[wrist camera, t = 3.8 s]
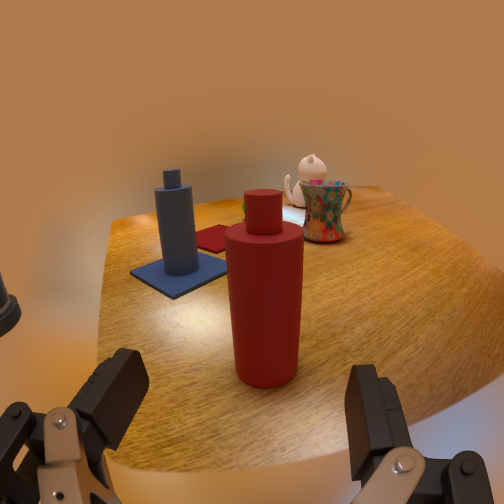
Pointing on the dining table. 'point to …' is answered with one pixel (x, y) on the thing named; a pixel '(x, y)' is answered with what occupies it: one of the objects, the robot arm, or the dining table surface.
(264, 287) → the red bottle
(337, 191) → the mug
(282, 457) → the dining table surface
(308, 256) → the dining table surface
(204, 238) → the red mat
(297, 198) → the cat figurine
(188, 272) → the blue bottle
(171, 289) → the blue mat
